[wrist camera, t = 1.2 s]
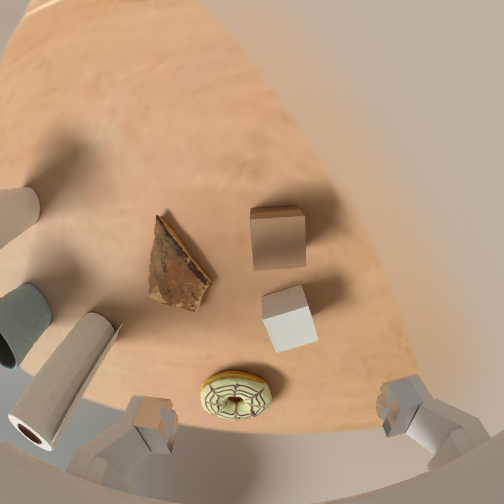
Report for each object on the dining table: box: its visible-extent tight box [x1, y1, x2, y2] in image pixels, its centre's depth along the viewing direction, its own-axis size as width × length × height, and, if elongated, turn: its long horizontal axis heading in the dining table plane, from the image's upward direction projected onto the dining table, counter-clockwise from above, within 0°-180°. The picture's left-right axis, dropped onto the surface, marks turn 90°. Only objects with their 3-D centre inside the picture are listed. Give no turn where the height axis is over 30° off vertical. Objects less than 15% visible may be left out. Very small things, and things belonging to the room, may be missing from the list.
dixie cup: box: [0, 187, 40, 249], centre depth 24 cm, size 8×8×10 cm
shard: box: [149, 215, 212, 312], centre depth 31 cm, size 11×8×2 cm
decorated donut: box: [200, 370, 272, 420], centre depth 38 cm, size 10×11×4 cm
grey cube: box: [262, 285, 318, 353], centre depth 31 cm, size 5×5×5 cm
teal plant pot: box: [0, 284, 52, 371], centre depth 29 cm, size 10×10×12 cm
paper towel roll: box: [8, 313, 123, 451], centre depth 26 cm, size 7×6×21 cm
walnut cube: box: [250, 206, 306, 271], centre depth 28 cm, size 5×5×5 cm
